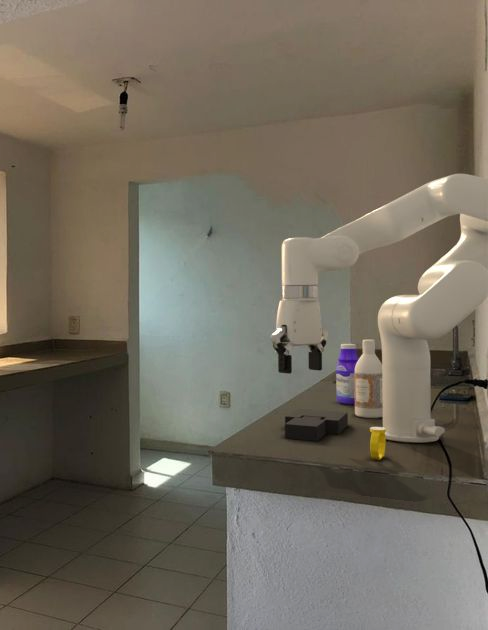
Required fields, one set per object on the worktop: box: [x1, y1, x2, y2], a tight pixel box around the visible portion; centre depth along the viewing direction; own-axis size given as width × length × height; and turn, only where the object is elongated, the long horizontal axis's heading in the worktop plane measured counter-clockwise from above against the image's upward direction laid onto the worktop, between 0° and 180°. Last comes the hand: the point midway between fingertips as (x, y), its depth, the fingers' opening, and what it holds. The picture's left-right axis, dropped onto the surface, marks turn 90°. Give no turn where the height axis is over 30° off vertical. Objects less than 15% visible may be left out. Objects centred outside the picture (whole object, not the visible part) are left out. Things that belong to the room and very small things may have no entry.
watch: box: [369, 426, 387, 461], centre depth 127 cm, size 6×3×6 cm, turn 141°
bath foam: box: [354, 339, 383, 419], centre depth 170 cm, size 7×7×20 cm
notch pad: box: [284, 408, 349, 435], centre depth 157 cm, size 12×12×3 cm
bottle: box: [335, 343, 360, 406], centre depth 190 cm, size 7×6×17 cm
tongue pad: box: [284, 416, 327, 442], centre depth 149 cm, size 7×12×3 cm, turn 147°
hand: (300, 371), depth 144 cm, fingers open, 9 cm apart
